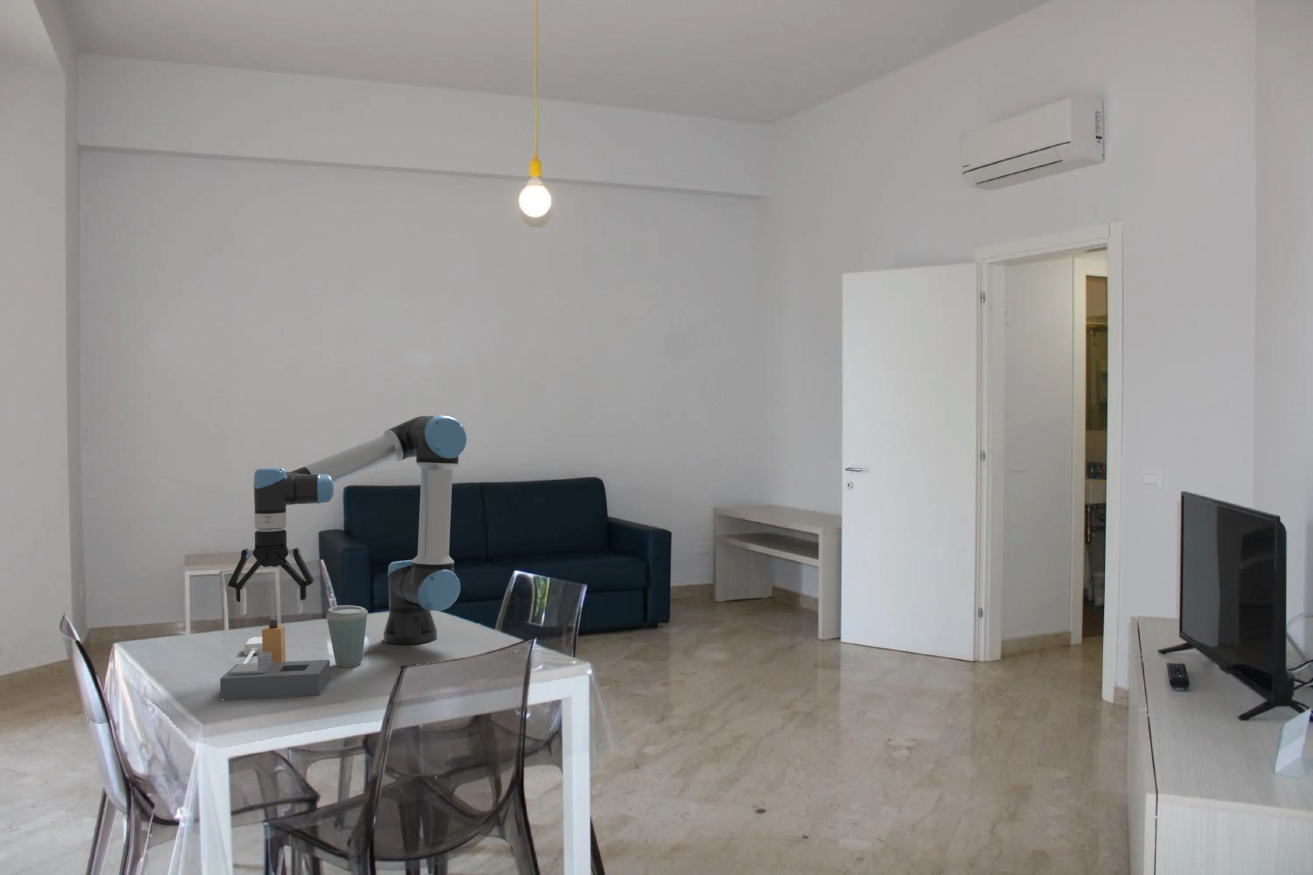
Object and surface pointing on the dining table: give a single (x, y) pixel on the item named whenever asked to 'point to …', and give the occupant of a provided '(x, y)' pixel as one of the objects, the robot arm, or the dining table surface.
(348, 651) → the disposable coffee cup
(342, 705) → the dining table surface
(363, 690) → the dining table surface
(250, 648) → the charging cable
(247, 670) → the shutter
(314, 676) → the socket box
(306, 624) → the dining table surface
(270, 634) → the plug
